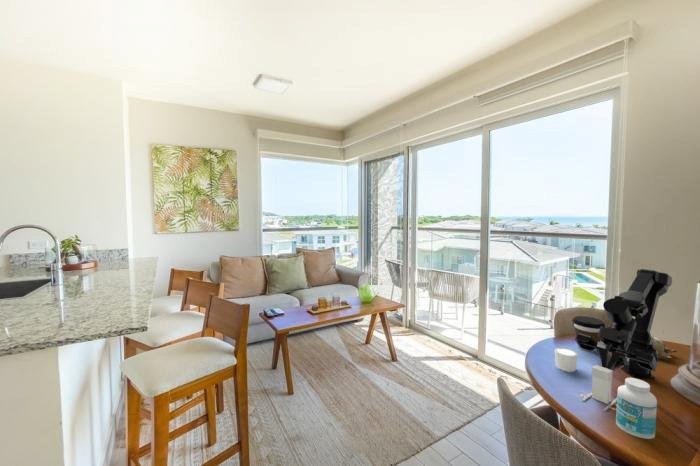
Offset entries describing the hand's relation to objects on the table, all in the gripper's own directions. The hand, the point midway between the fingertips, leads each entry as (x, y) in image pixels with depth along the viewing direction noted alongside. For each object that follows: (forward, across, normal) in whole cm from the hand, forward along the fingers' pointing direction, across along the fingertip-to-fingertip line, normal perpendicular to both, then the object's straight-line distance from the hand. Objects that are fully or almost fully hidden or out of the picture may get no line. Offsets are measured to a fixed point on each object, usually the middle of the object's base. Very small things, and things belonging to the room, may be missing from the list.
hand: (604, 374), depth 91 cm
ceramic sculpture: (-32, -3, +43) cm, 53 cm away
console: (+6, 0, +6) cm, 8 cm away
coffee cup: (-21, -18, +33) cm, 43 cm away
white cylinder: (-1, -15, +13) cm, 20 cm away
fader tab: (+6, 0, +4) cm, 7 cm away
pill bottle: (+12, +10, 0) cm, 16 cm away
